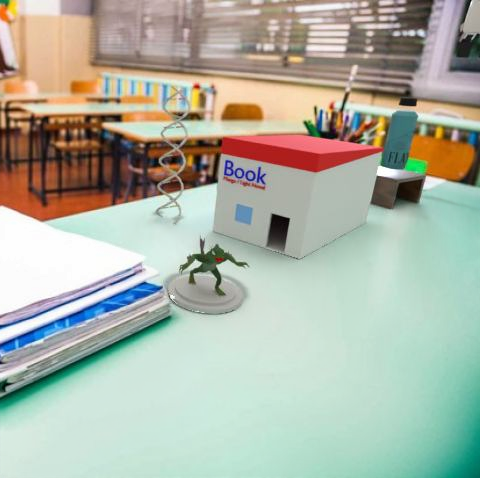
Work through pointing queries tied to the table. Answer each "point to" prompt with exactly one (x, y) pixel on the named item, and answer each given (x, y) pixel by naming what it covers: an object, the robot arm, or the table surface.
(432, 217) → the table surface
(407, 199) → the shelf
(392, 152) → the beverage bottle
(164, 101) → the dna model
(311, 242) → the bookstore
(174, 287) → the monster figurine
